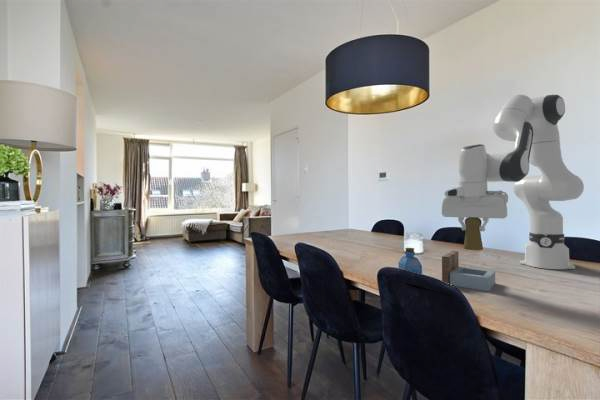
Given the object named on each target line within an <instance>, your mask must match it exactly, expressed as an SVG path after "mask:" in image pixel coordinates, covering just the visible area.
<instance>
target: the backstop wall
mask: <svg viewBox="0 0 600 400" xmlns="http://www.w3.org/2000/svg"><path fill="white" fill-rule="evenodd" d="M459 263H460V261H459V250H451V251H449V252H447V253H446V254H444V255H442V256H441V282H442V281H443V282H446V283H449V284H450V272H451V271H453V270H454V269H456V268H457V267H458V266H459ZM459 267H460V266H459Z"/></svg>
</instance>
